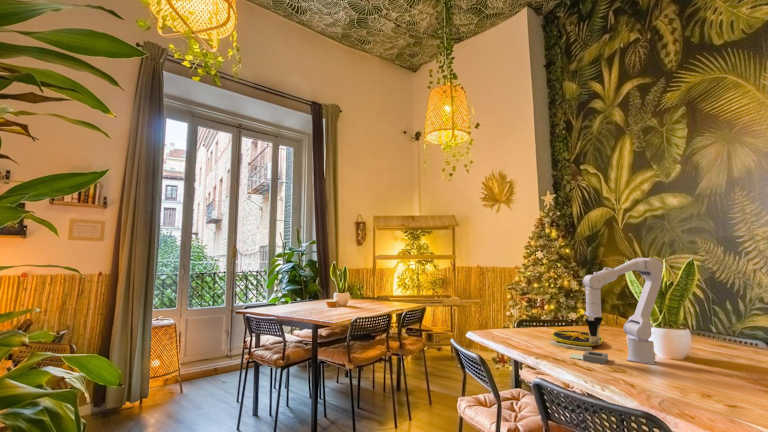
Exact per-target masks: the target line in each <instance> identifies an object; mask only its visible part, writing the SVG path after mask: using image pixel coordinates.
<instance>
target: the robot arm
mask: <svg viewBox="0 0 768 432" xmlns="http://www.w3.org/2000/svg"><path fill="white" fill-rule="evenodd" d="M663 269H664V265H663V264H662V262H661V261H660V259H658V258H655V257H651V258H650V257H641V256H640V257H636V258H633V259H631V260H629V261H627V262H625V263H622V264H621V265H619V266H616V267H614V268H611V267H607V266H606V267H603V268H602V270H600V271H594V272H593V274H587V275H585V276H584V277H583V278H582V285H583V287H584V290H585V312H583V313H582V314H583V315H586V316H587V318H584V322H585V323H586V325H587V328H588V333H589V332H590V335H591V336H594V337H596V336H597V330H598V325H600V327H601V323H602V321H603V320H604V319H603V317H602V316H603V314H602V301H601V300H602V297H601V296H602V293H601V291H602V290H601V289H602V288H603V286H604V285H607V284H609V283H611V282H613V281H616V280H617V279H618V276H621V275H624V274H626V273H629V272H632V271H636V272H637V273H639V275H641V277H643V279H644V280H645V283H644V285H643V288H642V291H641V294H640V296H639V300H638V302H637V305H636V308H635V311H634V313H633V314H632V315H631V316H629V317H628V319H627V321H626V322H625V323H624V324H623V331H624V333H625V334H626V337H627V351H628V353H627V357H626V361H629V362H636V363H642V364H649V365H654V364H655V360H656V355H655V344H654V341H653V340H650V338H651V337H652V335H653V334H652V333H653V332H652V327H653V324H652V323H651V321H650V316H651V315H652V311H653V309H654V306H655V302H656V300H657V296H658V294H659V292H660V288H661V285H662V281H663V277H662V276H663V274H662V271H663ZM600 327H599V329H600Z"/></svg>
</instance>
